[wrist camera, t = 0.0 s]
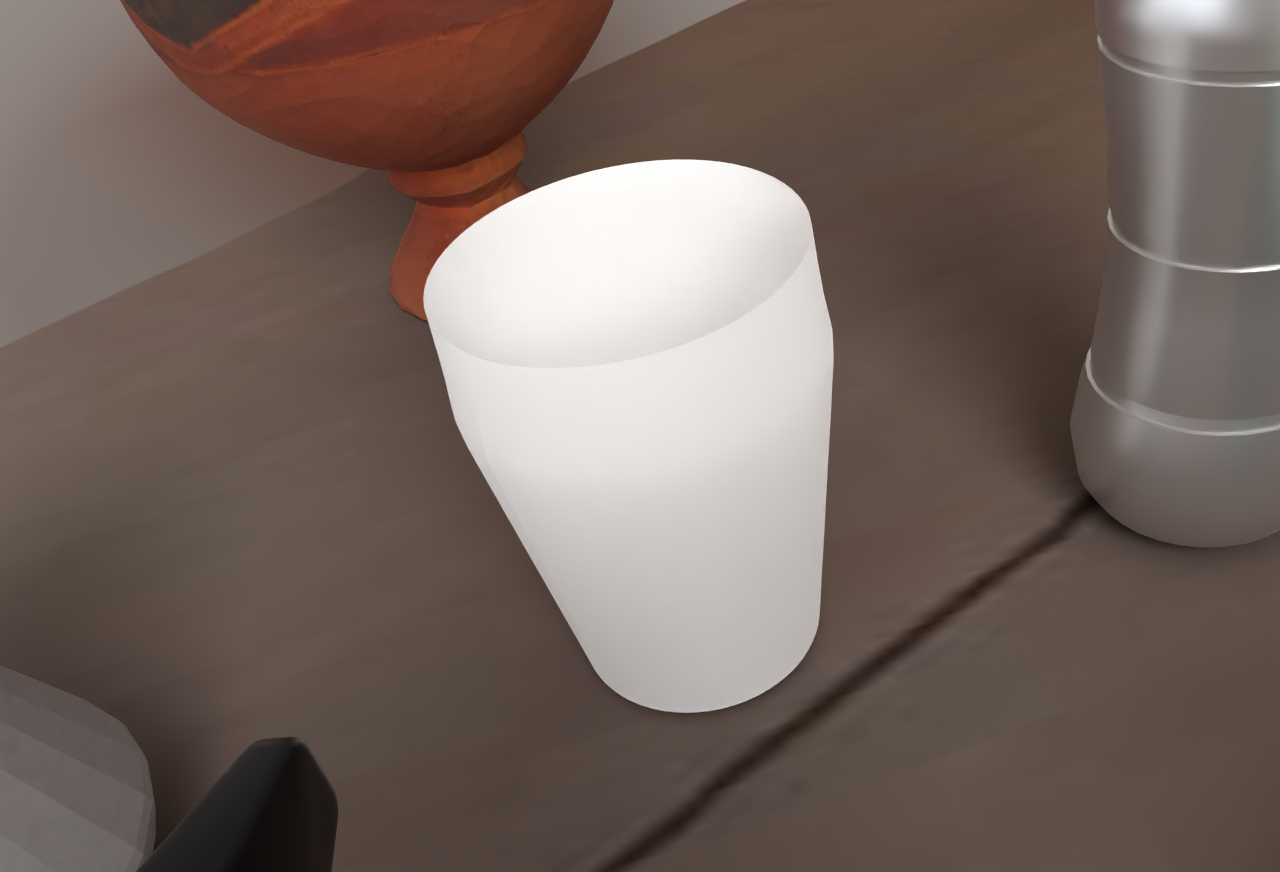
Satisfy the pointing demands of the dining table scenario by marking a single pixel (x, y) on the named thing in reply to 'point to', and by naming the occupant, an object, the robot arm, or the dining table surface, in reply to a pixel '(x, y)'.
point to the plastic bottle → (1187, 274)
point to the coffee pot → (69, 784)
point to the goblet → (387, 91)
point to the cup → (653, 415)
